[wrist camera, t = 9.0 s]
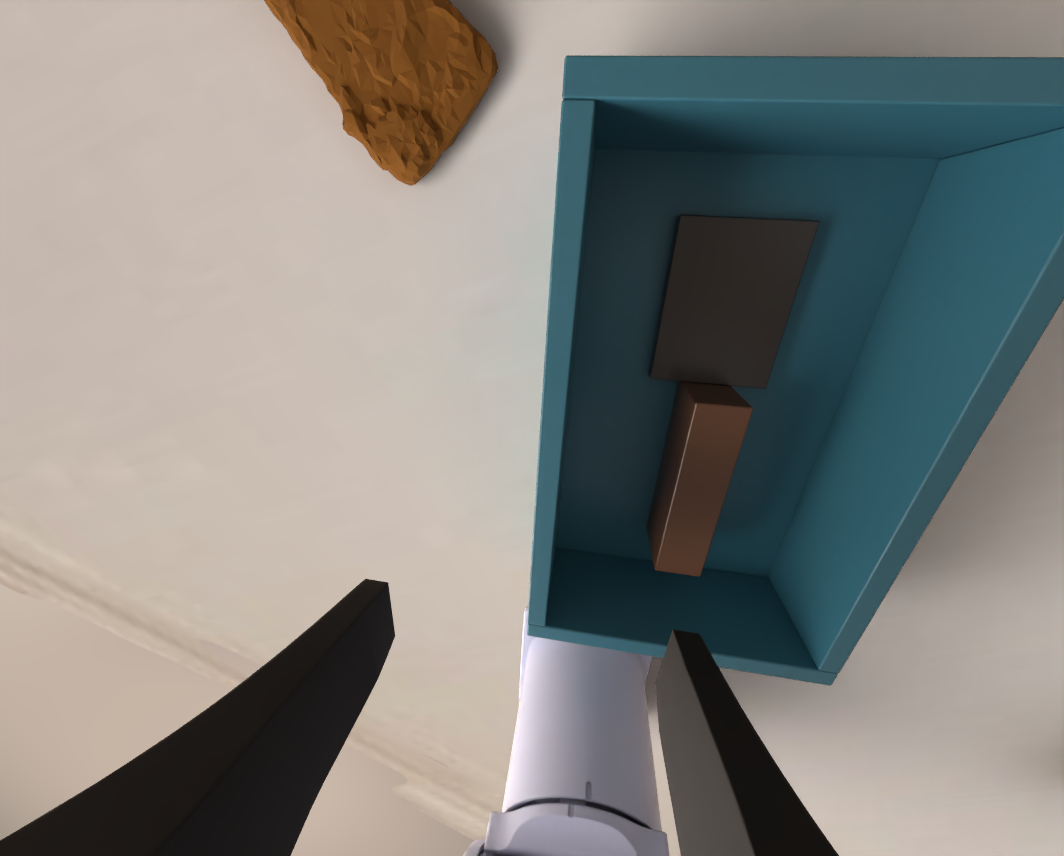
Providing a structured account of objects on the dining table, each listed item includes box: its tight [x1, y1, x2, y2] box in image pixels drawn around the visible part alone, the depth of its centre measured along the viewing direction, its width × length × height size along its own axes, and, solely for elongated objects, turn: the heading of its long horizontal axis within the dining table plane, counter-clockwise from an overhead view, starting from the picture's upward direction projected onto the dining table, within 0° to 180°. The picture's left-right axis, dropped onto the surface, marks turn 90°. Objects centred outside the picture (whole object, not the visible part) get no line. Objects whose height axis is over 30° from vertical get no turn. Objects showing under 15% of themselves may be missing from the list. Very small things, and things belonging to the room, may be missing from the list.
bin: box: [527, 56, 1064, 685], centre depth 15 cm, size 20×13×6 cm, turn 177°
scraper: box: [646, 214, 819, 577], centre depth 15 cm, size 14×5×3 cm, turn 177°
